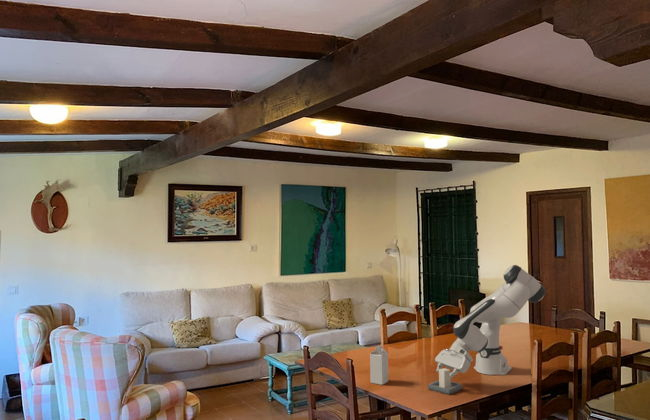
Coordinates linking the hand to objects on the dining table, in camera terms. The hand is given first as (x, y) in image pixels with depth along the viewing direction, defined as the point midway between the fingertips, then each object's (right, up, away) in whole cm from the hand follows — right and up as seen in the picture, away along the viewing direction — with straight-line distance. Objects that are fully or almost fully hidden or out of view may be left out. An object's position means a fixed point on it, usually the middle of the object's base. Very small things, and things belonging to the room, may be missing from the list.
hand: (443, 374), depth 246 cm
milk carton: (-31, -9, +13) cm, 34 cm away
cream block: (+1, -7, 0) cm, 7 cm away
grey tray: (+1, -7, 0) cm, 8 cm away
